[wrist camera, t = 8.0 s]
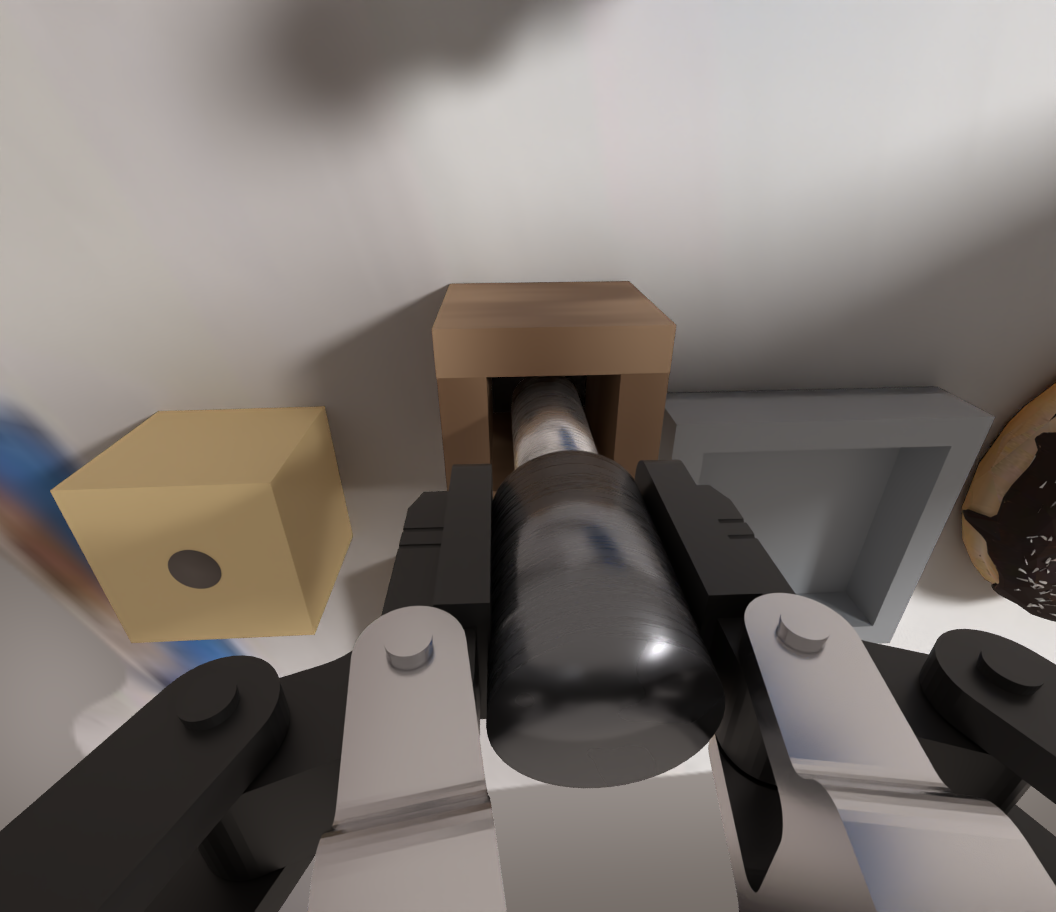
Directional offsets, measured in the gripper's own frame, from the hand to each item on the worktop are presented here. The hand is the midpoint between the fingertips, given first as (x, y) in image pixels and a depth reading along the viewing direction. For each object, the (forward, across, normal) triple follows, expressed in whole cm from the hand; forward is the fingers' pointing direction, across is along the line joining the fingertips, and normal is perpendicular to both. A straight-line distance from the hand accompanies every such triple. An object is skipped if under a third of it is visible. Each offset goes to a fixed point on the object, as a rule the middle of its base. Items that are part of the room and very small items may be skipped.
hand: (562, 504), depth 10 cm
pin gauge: (+5, 0, 0) cm, 5 cm away
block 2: (+8, 0, 0) cm, 8 cm away
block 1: (+9, +10, +4) cm, 14 cm away
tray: (+8, -9, +6) cm, 14 cm away
